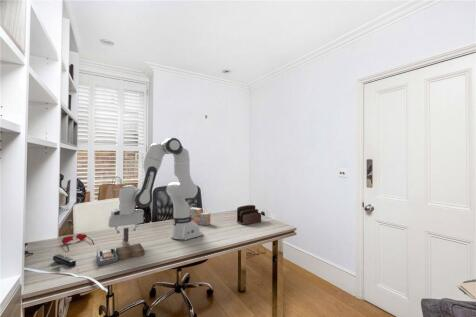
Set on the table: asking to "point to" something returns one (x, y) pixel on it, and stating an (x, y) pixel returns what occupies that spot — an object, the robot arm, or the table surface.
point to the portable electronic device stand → (64, 260)
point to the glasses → (79, 236)
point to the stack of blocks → (199, 216)
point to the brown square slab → (129, 251)
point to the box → (106, 261)
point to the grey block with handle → (126, 236)
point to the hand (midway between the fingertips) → (126, 231)
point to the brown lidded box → (248, 215)
